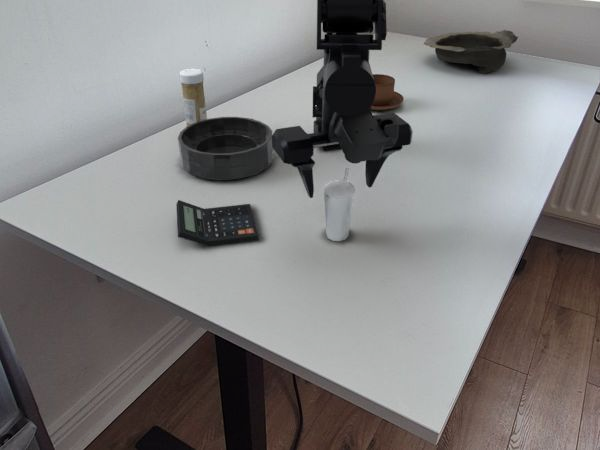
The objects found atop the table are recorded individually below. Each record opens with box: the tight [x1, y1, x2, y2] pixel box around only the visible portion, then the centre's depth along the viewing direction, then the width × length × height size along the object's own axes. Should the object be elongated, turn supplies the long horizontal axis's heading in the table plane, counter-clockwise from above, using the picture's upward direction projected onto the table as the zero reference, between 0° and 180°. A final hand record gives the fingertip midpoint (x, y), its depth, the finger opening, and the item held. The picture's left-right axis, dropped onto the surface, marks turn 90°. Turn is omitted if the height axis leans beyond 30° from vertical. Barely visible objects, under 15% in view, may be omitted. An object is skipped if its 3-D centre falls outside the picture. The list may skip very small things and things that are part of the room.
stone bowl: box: [422, 29, 519, 74], centre depth 153 cm, size 25×25×9 cm
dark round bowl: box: [177, 116, 274, 181], centre depth 103 cm, size 17×17×6 cm
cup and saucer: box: [371, 73, 404, 111], centre depth 127 cm, size 12×12×6 cm
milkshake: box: [323, 167, 356, 242], centre depth 81 cm, size 4×5×10 cm
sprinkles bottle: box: [179, 68, 208, 127], centre depth 111 cm, size 5×5×13 cm
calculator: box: [175, 199, 260, 247], centre depth 84 cm, size 9×12×3 cm
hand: (340, 191), depth 79 cm, fingers open, 9 cm apart
